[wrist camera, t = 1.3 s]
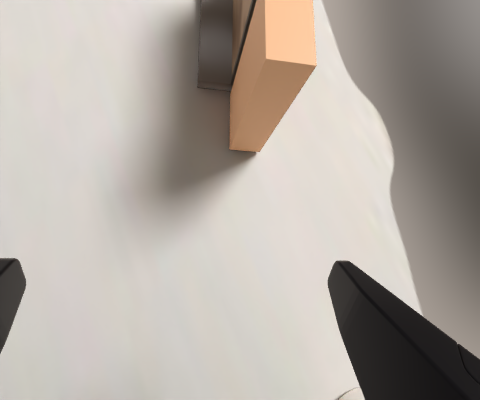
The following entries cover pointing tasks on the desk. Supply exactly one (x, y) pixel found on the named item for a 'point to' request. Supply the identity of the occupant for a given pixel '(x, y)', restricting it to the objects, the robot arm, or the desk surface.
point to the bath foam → (353, 395)
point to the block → (271, 69)
